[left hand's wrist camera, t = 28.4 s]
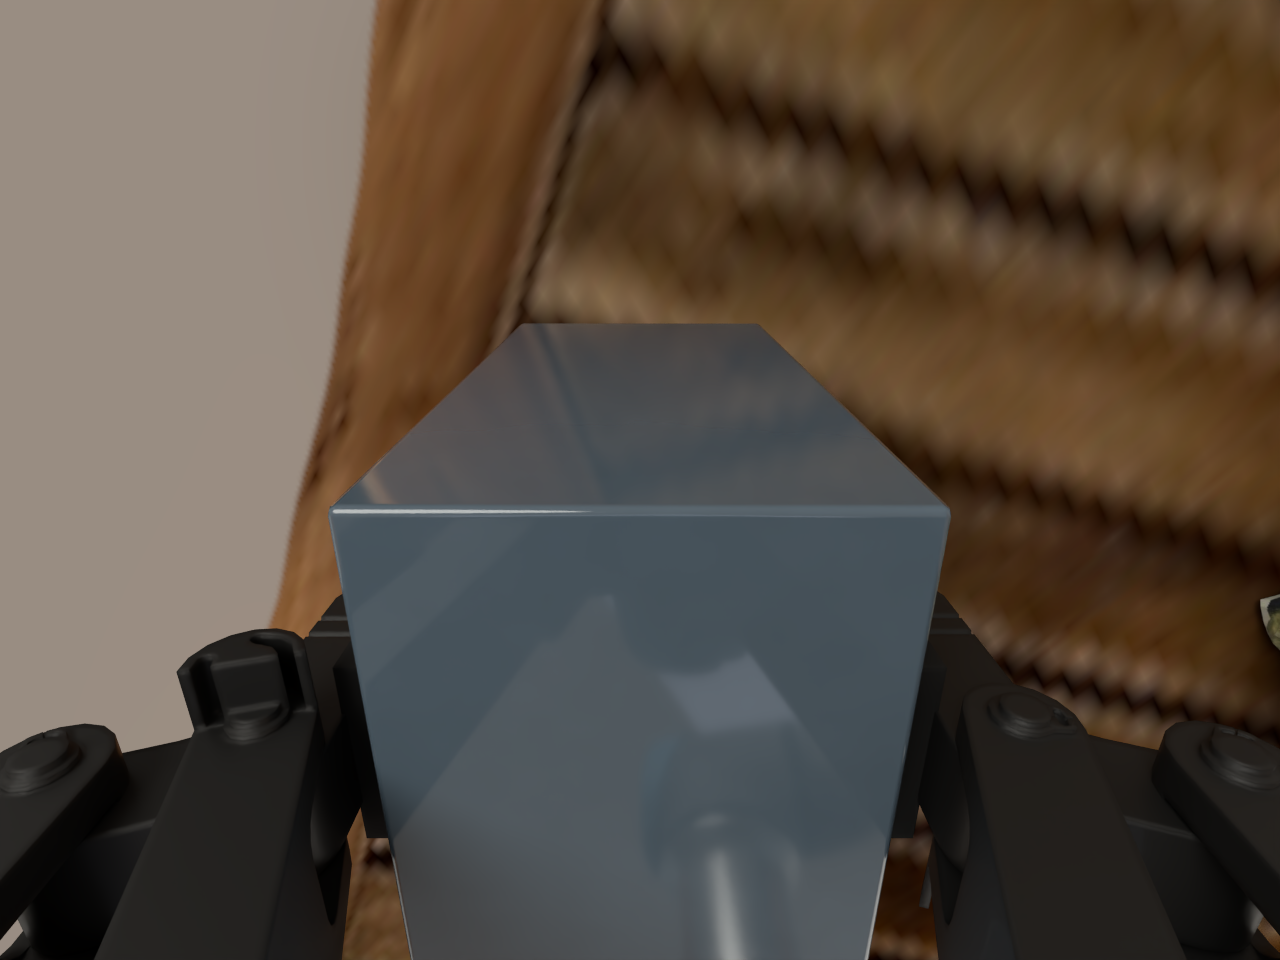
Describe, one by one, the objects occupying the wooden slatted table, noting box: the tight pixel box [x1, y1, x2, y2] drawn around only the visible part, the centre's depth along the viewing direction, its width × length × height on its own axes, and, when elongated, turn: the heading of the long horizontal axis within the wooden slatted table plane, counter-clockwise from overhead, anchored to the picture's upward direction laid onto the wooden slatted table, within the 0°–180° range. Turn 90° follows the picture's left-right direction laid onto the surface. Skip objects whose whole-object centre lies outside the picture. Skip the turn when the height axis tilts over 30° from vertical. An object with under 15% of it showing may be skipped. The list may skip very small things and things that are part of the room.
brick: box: [328, 324, 951, 960], centre depth 12 cm, size 6×8×11 cm
